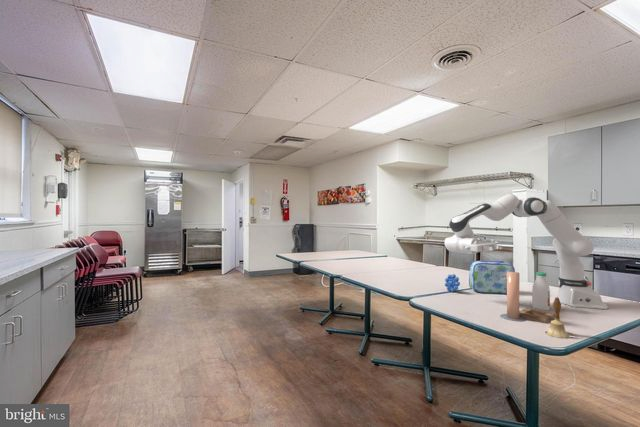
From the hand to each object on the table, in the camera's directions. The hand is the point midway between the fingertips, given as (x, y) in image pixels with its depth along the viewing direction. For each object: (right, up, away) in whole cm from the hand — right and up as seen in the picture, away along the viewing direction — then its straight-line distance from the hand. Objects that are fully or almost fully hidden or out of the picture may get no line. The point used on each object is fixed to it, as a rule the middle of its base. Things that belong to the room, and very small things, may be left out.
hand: (497, 248), depth 162 cm
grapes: (-6, -34, +41) cm, 53 cm away
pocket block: (+12, -34, -11) cm, 38 cm away
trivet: (+1, -34, -12) cm, 36 cm away
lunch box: (+19, -34, +40) cm, 56 cm away
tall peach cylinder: (+1, -33, -12) cm, 35 cm away
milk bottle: (+26, -34, +4) cm, 43 cm away
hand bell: (+8, -34, -31) cm, 46 cm away
